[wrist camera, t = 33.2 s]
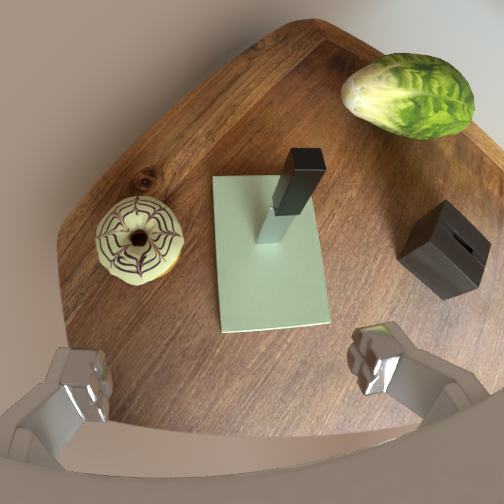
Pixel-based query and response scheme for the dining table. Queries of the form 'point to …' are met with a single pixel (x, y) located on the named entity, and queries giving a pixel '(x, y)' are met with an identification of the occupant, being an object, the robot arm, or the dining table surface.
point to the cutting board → (265, 261)
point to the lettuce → (410, 96)
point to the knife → (292, 192)
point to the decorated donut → (139, 257)
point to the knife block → (446, 252)
